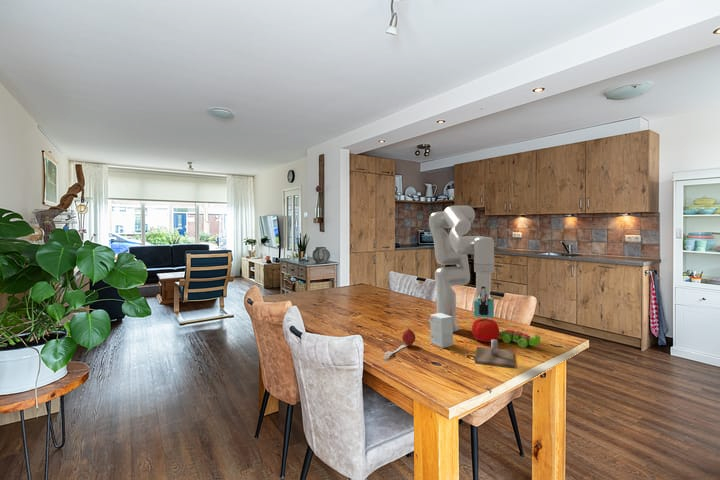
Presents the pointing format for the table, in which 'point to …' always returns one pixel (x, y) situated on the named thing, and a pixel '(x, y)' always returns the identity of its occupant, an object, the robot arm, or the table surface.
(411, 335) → the onion
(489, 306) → the bead
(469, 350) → the table surface
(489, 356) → the post board
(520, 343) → the toy crocodile
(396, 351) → the fork
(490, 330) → the tomato
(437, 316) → the small box
